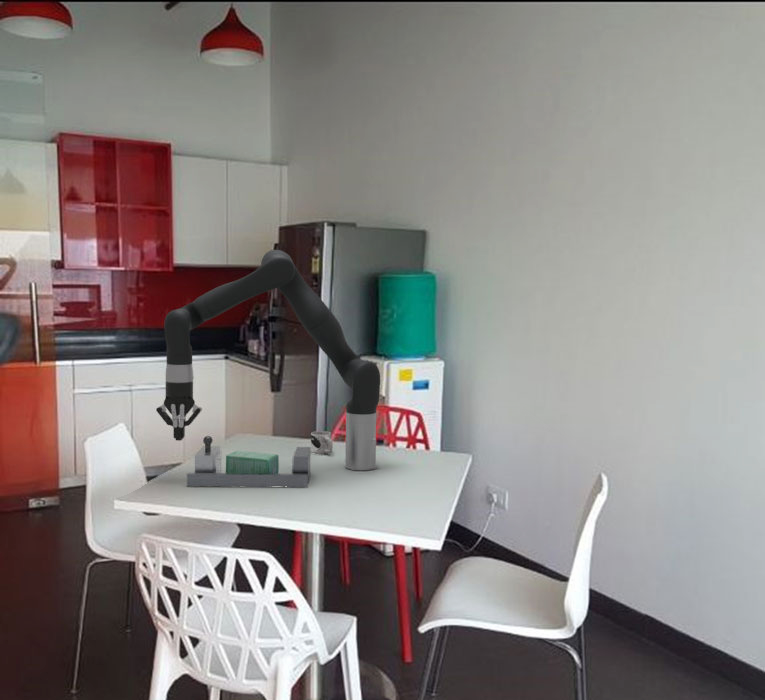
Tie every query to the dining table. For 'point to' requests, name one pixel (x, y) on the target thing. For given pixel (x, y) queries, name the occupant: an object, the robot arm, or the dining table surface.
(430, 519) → the dining table surface
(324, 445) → the mug
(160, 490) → the dining table surface
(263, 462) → the box
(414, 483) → the dining table surface
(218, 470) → the sliding jaw
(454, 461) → the dining table surface
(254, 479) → the vise
